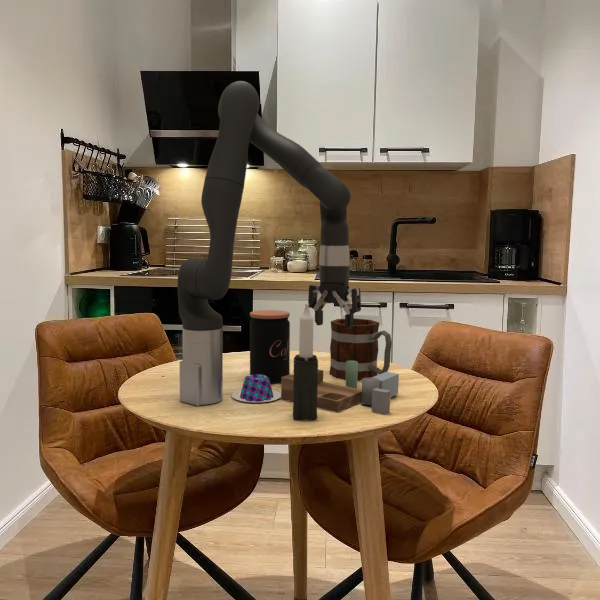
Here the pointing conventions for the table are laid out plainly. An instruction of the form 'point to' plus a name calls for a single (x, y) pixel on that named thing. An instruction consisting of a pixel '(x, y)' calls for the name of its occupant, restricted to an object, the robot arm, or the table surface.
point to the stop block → (381, 400)
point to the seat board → (325, 394)
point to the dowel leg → (351, 373)
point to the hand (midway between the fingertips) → (333, 326)
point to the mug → (357, 348)
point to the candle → (305, 372)
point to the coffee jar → (270, 344)
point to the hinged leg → (379, 385)
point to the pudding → (256, 389)
